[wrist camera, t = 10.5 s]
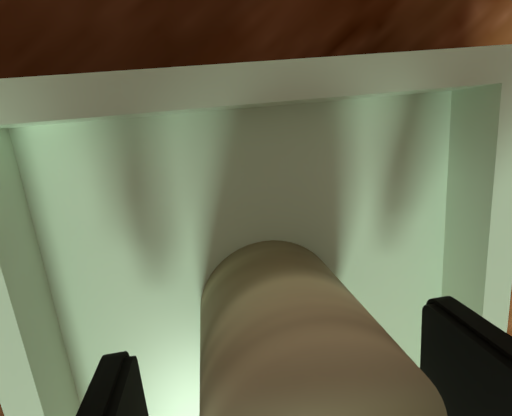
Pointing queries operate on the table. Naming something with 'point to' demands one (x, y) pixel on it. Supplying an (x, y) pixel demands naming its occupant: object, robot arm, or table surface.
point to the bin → (241, 203)
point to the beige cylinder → (299, 344)
